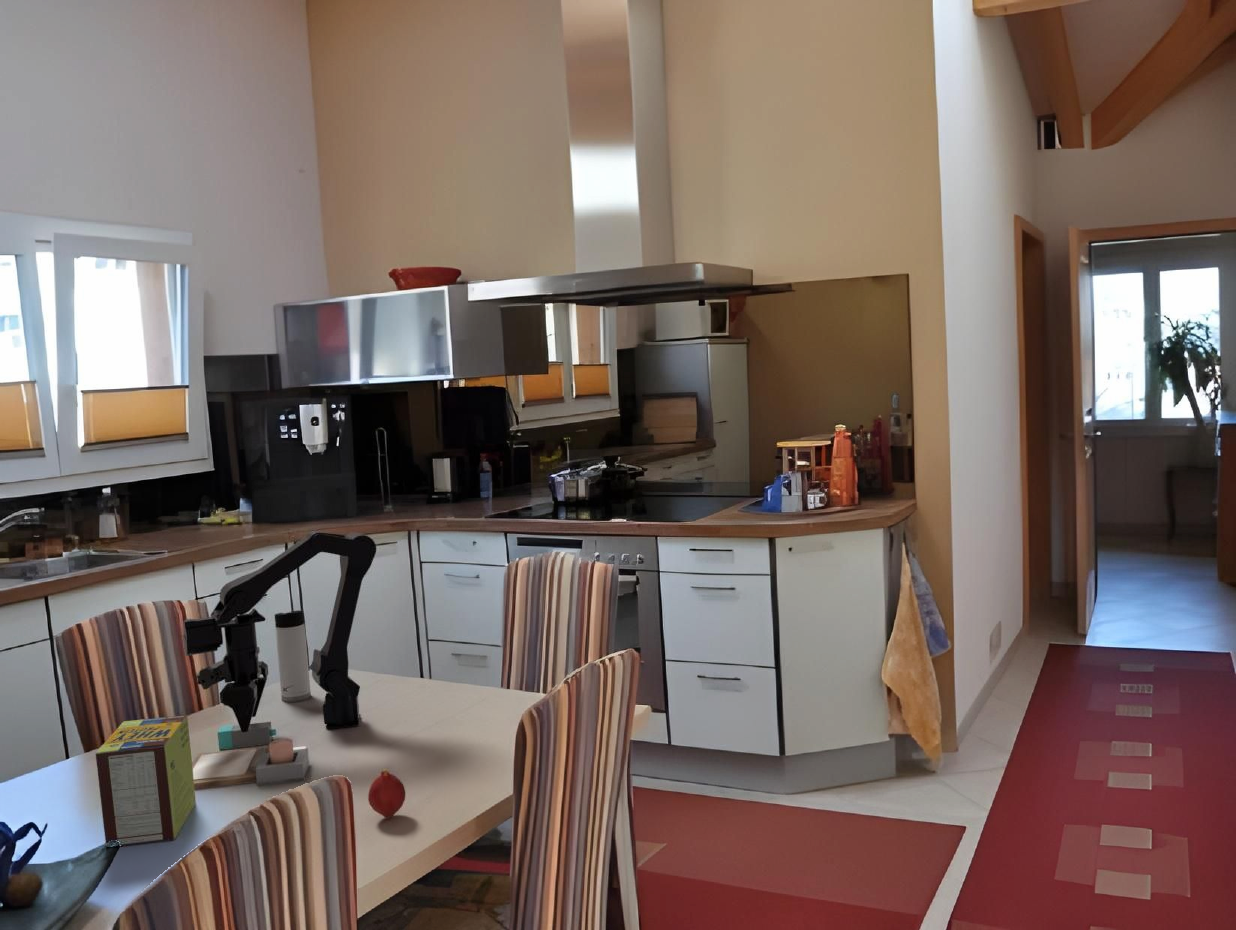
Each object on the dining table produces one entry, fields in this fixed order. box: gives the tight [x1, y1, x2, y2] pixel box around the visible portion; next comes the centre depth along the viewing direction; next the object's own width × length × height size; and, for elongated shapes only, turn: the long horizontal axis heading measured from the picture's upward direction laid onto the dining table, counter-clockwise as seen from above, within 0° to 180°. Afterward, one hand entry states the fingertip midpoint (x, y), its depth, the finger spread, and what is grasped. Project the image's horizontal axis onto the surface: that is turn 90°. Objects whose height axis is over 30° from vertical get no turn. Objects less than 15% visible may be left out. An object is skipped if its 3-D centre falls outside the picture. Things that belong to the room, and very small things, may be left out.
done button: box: [268, 738, 294, 765], centre depth 193 cm, size 4×4×4 cm
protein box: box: [95, 714, 196, 847], centre depth 174 cm, size 10×15×16 cm
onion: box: [367, 769, 406, 819], centre depth 172 cm, size 6×6×8 cm
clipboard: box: [192, 745, 270, 790], centre depth 198 cm, size 13×16×2 cm
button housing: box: [256, 748, 310, 787], centre depth 193 cm, size 8×8×3 cm
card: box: [293, 745, 307, 750], centre depth 204 cm, size 6×5×1 cm
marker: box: [217, 721, 277, 751], centre depth 212 cm, size 10×4×4 cm, turn 100°
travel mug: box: [274, 609, 312, 703], centre depth 239 cm, size 6×7×20 cm
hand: (248, 724), depth 211 cm, fingers open, 9 cm apart
